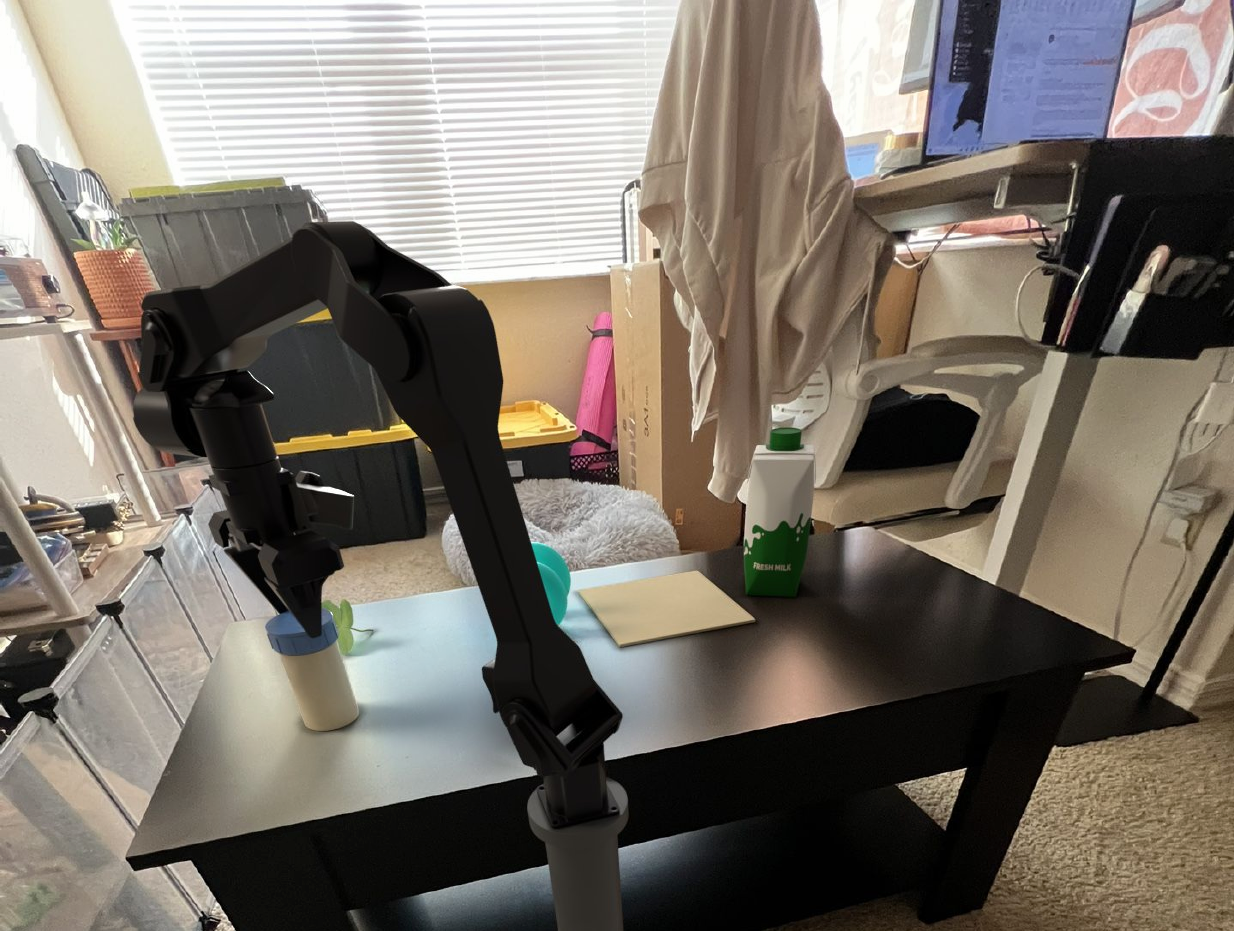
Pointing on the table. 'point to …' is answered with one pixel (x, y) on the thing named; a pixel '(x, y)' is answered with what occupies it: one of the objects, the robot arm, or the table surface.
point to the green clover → (343, 623)
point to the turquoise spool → (553, 578)
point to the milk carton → (778, 514)
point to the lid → (299, 634)
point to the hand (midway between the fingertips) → (300, 625)
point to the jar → (321, 688)
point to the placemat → (663, 608)
